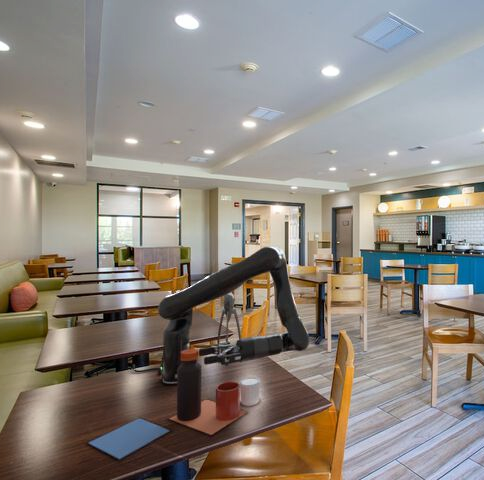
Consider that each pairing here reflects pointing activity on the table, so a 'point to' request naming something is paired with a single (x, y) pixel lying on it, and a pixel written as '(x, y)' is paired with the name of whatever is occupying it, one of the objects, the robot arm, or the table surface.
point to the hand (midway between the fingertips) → (201, 356)
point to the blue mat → (128, 438)
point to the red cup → (227, 401)
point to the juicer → (228, 315)
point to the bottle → (189, 386)
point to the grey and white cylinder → (250, 391)
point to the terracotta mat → (207, 419)
